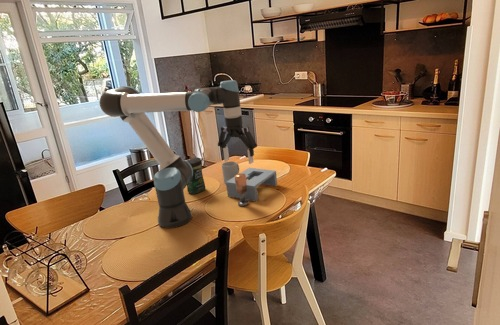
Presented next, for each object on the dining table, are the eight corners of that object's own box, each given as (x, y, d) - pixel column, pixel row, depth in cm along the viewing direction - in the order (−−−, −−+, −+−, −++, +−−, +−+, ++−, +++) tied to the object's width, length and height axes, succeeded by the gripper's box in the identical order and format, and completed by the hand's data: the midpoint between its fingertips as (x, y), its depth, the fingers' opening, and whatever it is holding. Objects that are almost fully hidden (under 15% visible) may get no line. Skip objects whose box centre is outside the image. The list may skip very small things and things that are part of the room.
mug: (232, 185, 186) (230, 167, 182) (220, 183, 191) (218, 165, 187) (245, 178, 195) (243, 160, 191) (233, 176, 200) (231, 158, 196)
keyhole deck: (255, 201, 163) (254, 186, 161) (227, 196, 172) (225, 182, 170) (277, 184, 181) (276, 170, 178) (250, 180, 190) (249, 167, 187)
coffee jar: (194, 195, 178) (189, 162, 172) (185, 192, 183) (179, 160, 177) (208, 189, 184) (203, 157, 179) (199, 186, 190) (194, 155, 184)
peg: (245, 207, 158) (241, 178, 153) (236, 205, 161) (232, 176, 156) (250, 202, 162) (247, 174, 157) (242, 201, 165) (238, 172, 160)
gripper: (261, 114, 144) (266, 161, 151) (216, 114, 158) (222, 157, 164) (252, 118, 138) (257, 166, 145) (206, 117, 152) (212, 162, 158)
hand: (238, 161), depth 155 cm, fingers open, 13 cm apart
